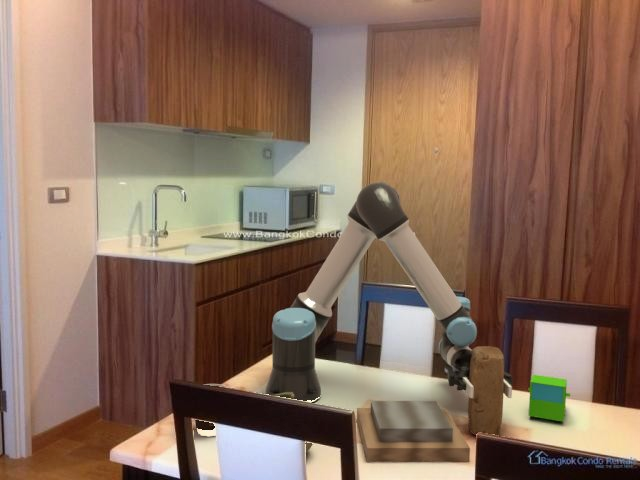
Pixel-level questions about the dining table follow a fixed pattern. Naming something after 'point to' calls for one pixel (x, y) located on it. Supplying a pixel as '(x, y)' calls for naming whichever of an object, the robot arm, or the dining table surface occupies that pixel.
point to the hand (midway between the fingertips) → (491, 392)
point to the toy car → (547, 397)
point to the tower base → (409, 447)
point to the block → (486, 390)
